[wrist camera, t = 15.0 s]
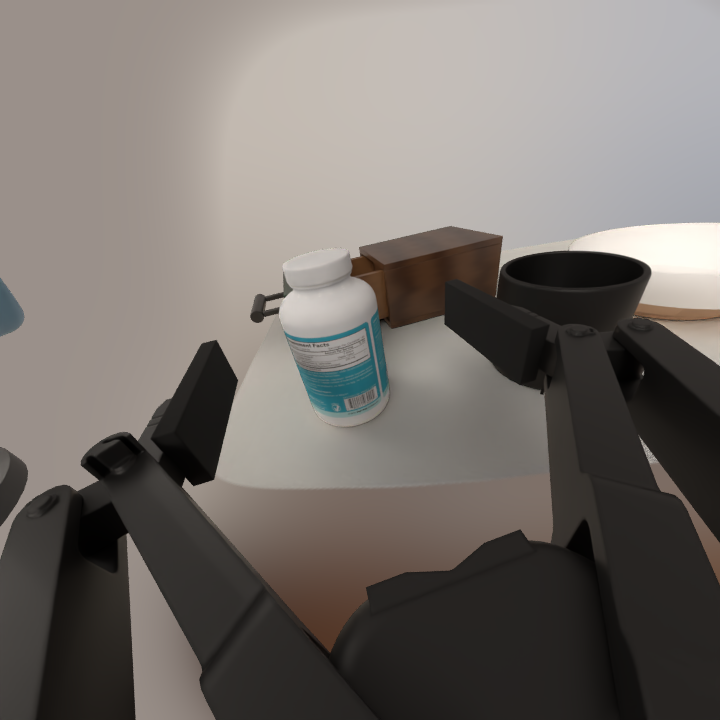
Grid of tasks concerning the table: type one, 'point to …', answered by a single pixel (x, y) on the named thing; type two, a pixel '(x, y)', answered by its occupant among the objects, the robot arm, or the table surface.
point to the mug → (574, 289)
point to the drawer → (360, 270)
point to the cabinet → (433, 269)
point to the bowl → (669, 266)
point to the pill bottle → (335, 337)
